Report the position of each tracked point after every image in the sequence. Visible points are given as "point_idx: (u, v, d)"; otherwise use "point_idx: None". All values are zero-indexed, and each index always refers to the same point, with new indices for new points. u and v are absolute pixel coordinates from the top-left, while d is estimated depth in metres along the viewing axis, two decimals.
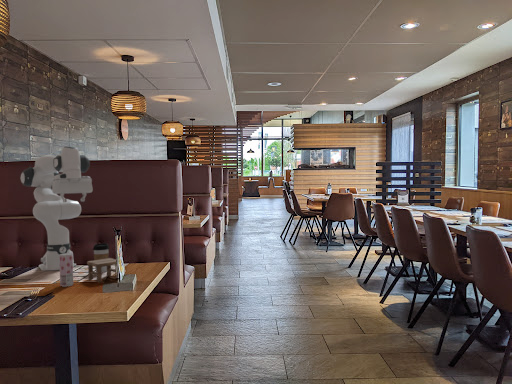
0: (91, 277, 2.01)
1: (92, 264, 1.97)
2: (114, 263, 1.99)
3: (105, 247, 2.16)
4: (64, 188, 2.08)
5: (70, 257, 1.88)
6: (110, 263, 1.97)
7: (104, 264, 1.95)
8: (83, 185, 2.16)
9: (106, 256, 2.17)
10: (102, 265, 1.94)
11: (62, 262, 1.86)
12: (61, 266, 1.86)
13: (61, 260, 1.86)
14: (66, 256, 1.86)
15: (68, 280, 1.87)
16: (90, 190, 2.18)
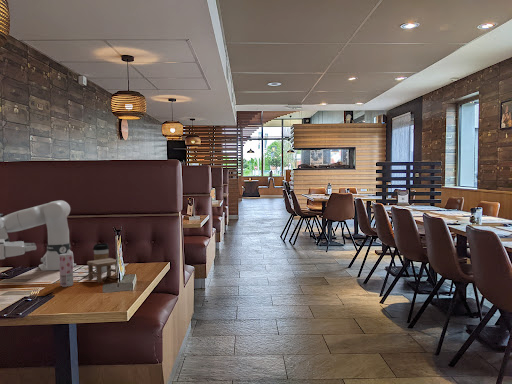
0: (91, 277, 2.01)
1: (92, 264, 1.97)
2: (114, 263, 1.99)
3: (105, 247, 2.16)
4: (18, 245, 1.74)
5: (70, 257, 1.88)
6: (110, 263, 1.97)
7: (104, 264, 1.95)
8: (14, 242, 1.82)
9: (106, 256, 2.17)
10: (102, 265, 1.94)
11: (62, 262, 1.86)
12: (61, 266, 1.86)
13: (61, 260, 1.86)
14: (66, 256, 1.86)
15: (68, 280, 1.87)
16: (21, 241, 1.87)
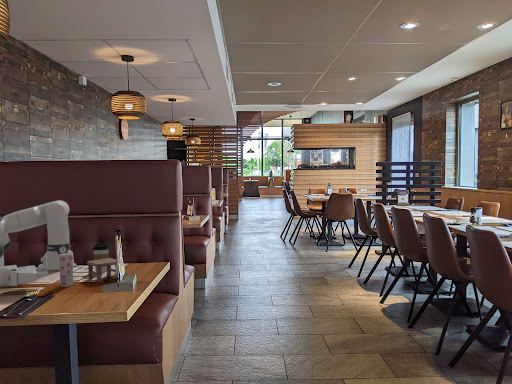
0: (91, 277, 2.01)
1: (92, 264, 1.97)
2: (114, 263, 1.99)
3: (105, 247, 2.16)
4: (30, 271, 1.76)
5: (70, 257, 1.88)
6: (110, 263, 1.97)
7: (104, 264, 1.95)
8: (26, 267, 1.84)
9: (106, 256, 2.17)
10: (102, 265, 1.94)
11: (62, 262, 1.86)
12: (61, 266, 1.86)
13: (61, 260, 1.86)
14: (66, 256, 1.86)
15: (68, 280, 1.87)
16: None
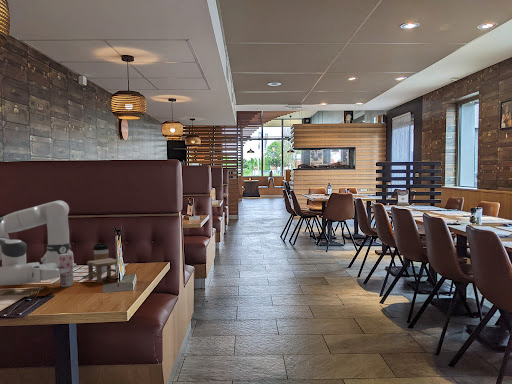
0: (91, 277, 2.01)
1: (92, 264, 1.97)
2: (114, 263, 1.99)
3: (105, 247, 2.16)
4: (52, 268, 1.81)
5: (70, 257, 1.88)
6: (110, 263, 1.97)
7: (104, 264, 1.95)
8: (47, 265, 1.89)
9: (106, 256, 2.17)
10: (102, 265, 1.94)
11: (62, 262, 1.86)
12: (61, 266, 1.86)
13: (61, 260, 1.86)
14: (66, 256, 1.86)
15: (68, 280, 1.87)
16: (53, 263, 1.94)
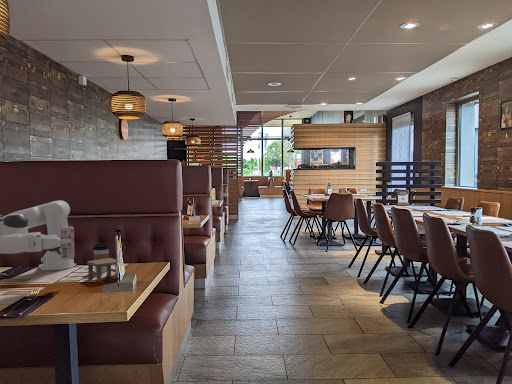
0: (91, 277, 2.01)
1: (92, 264, 1.97)
2: (114, 263, 1.99)
3: (105, 247, 2.16)
4: None
5: (71, 230, 1.88)
6: (110, 263, 1.97)
7: (104, 264, 1.95)
8: (49, 235, 1.89)
9: (106, 256, 2.17)
10: (102, 265, 1.94)
11: (63, 234, 1.86)
12: None
13: (62, 233, 1.86)
14: (68, 229, 1.87)
15: (70, 253, 1.87)
16: None
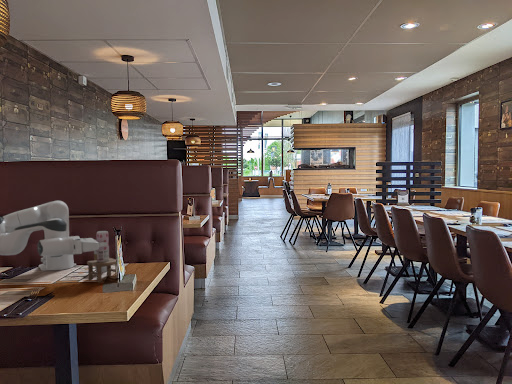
0: (91, 277, 2.01)
1: (92, 264, 1.97)
2: (114, 263, 1.99)
3: None
4: (92, 241, 1.93)
5: (106, 234, 2.00)
6: (110, 263, 1.97)
7: (104, 264, 1.95)
8: (85, 239, 2.01)
9: None
10: (102, 265, 1.94)
11: (99, 239, 1.98)
12: None
13: (98, 237, 1.98)
14: (103, 233, 1.98)
15: (105, 256, 1.99)
16: (90, 238, 2.06)
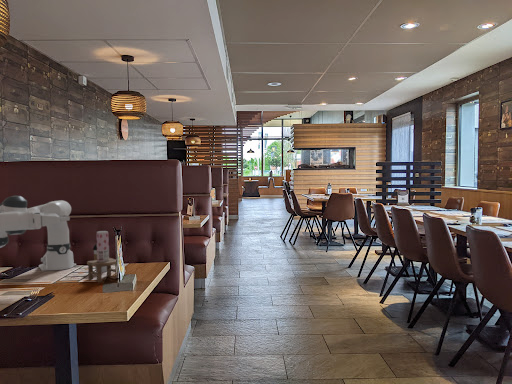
0: (91, 277, 2.01)
1: (92, 264, 1.97)
2: (114, 263, 1.99)
3: None
4: (53, 215, 1.84)
5: (106, 234, 2.00)
6: (110, 263, 1.97)
7: (104, 264, 1.95)
8: (48, 214, 1.92)
9: None
10: (102, 265, 1.94)
11: (99, 239, 1.98)
12: (98, 243, 1.98)
13: (98, 237, 1.98)
14: (103, 233, 1.98)
15: (105, 256, 1.99)
16: (53, 213, 1.97)
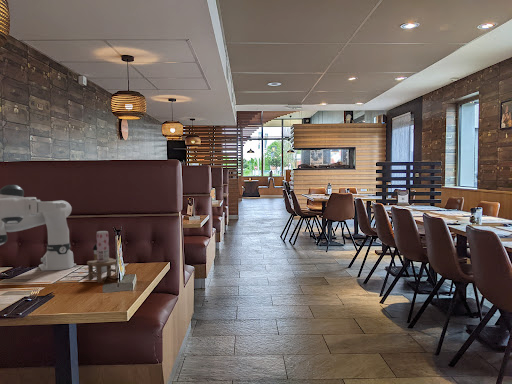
0: (91, 277, 2.01)
1: (92, 264, 1.97)
2: (114, 263, 1.99)
3: None
4: None
5: (106, 234, 2.00)
6: (110, 263, 1.97)
7: (104, 264, 1.95)
8: None
9: None
10: (102, 265, 1.94)
11: (99, 239, 1.98)
12: (98, 243, 1.98)
13: (98, 237, 1.98)
14: (103, 233, 1.98)
15: (105, 256, 1.99)
16: (50, 201, 1.97)
